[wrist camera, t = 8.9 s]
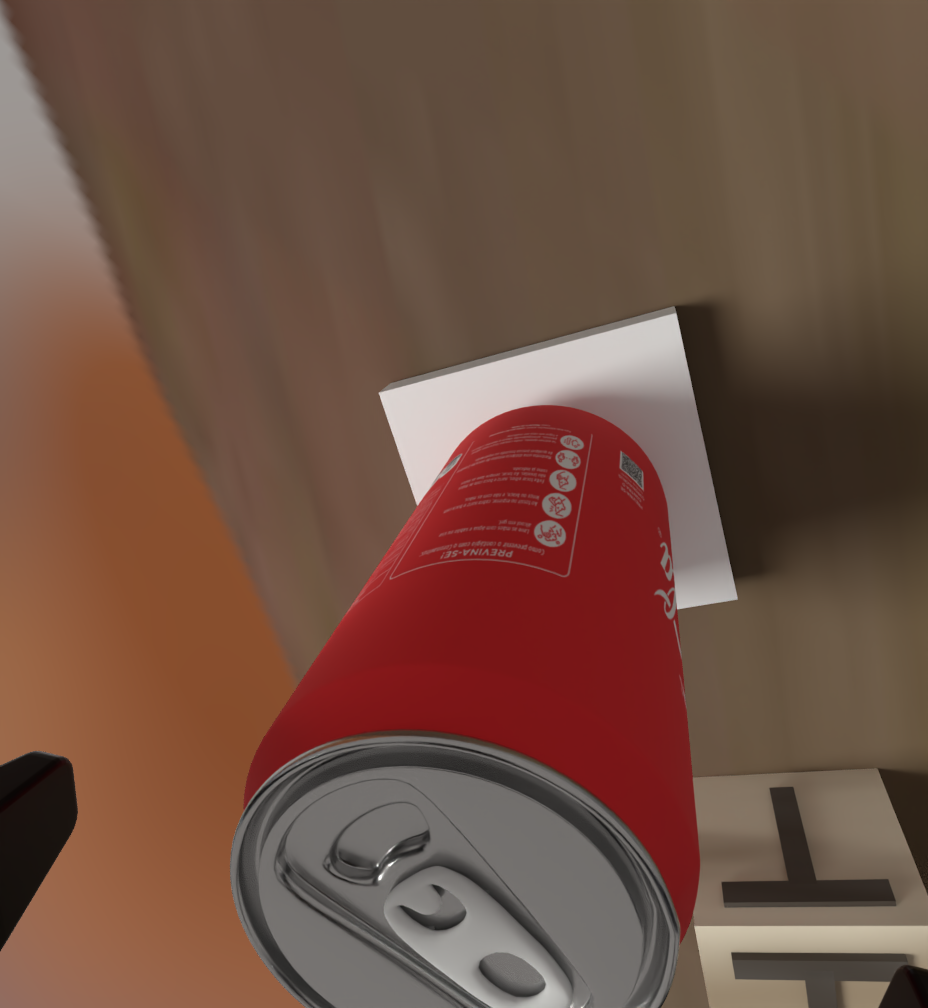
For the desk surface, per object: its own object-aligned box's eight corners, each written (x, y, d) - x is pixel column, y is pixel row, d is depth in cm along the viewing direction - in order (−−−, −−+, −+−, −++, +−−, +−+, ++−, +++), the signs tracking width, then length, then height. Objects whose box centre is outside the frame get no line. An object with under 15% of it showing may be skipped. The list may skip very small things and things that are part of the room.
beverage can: (556, 344, 18) (427, 614, 7) (712, 506, 18) (822, 987, 7) (405, 490, 20) (120, 876, 9) (550, 631, 20) (451, 1149, 10)
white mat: (733, 580, 20) (738, 599, 19) (471, 624, 22) (464, 643, 21) (674, 305, 18) (676, 312, 17) (390, 383, 20) (378, 393, 19)
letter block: (888, 907, 23) (951, 1096, 18) (707, 908, 24) (723, 1085, 20) (876, 761, 21) (942, 928, 16) (683, 772, 23) (694, 928, 18)
